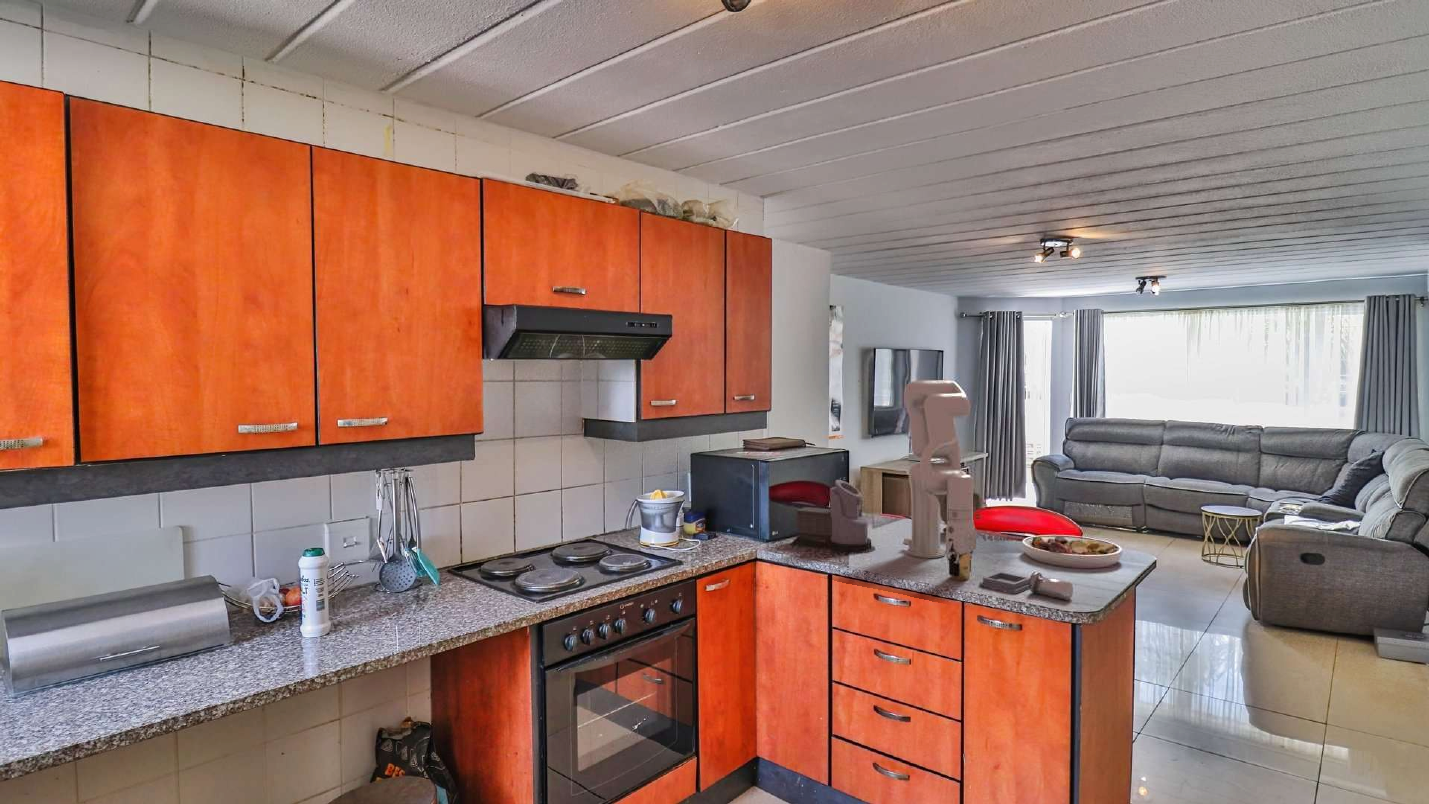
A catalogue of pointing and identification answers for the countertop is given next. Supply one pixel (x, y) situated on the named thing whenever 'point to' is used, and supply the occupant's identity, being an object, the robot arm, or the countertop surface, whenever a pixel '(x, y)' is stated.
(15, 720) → the countertop surface
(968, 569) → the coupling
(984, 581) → the grey square tray
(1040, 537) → the bowl
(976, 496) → the tabletop clock
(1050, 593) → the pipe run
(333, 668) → the countertop surface
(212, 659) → the countertop surface
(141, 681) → the countertop surface
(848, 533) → the juicer
